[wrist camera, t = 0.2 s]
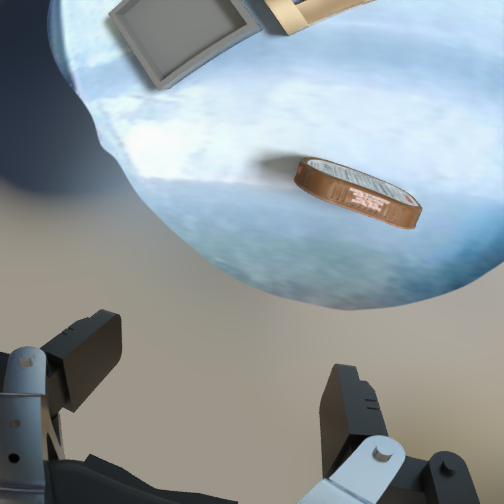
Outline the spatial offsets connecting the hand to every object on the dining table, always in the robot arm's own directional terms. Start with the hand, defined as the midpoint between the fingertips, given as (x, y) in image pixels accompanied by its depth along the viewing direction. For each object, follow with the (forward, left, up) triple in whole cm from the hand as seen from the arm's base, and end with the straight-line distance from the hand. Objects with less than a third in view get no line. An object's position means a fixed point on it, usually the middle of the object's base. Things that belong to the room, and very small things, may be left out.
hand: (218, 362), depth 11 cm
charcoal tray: (-21, -3, -31) cm, 37 cm away
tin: (+7, +5, -31) cm, 32 cm away
